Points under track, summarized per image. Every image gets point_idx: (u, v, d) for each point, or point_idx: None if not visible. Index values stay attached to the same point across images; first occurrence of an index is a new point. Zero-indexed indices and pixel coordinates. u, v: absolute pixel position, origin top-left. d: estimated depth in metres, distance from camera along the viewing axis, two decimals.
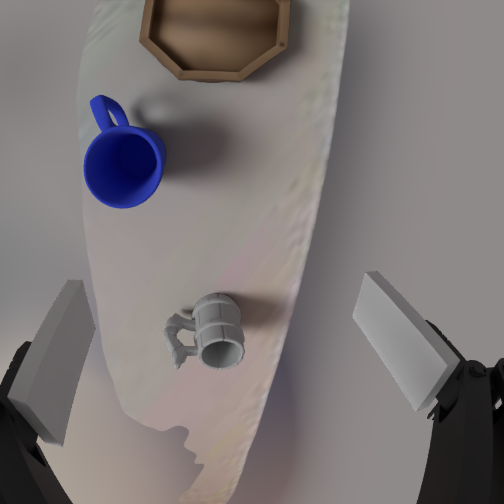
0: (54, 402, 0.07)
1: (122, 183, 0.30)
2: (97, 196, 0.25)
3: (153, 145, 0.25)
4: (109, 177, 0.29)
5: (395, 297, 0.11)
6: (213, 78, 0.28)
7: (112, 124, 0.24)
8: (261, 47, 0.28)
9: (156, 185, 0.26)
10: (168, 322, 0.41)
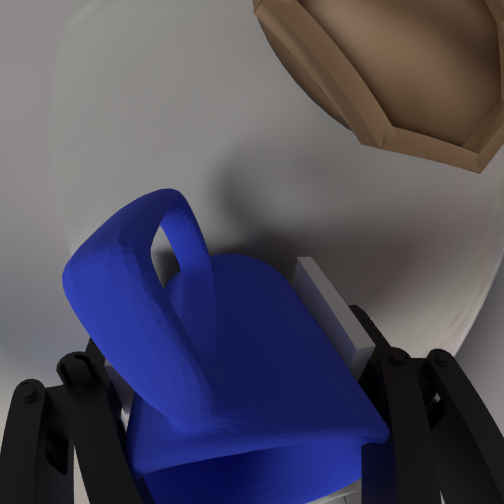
0: None
1: None
2: None
3: None
4: None
5: (320, 280, 0.12)
6: (444, 161, 0.11)
7: (222, 394, 0.05)
8: (488, 98, 0.11)
9: (345, 486, 0.08)
10: None
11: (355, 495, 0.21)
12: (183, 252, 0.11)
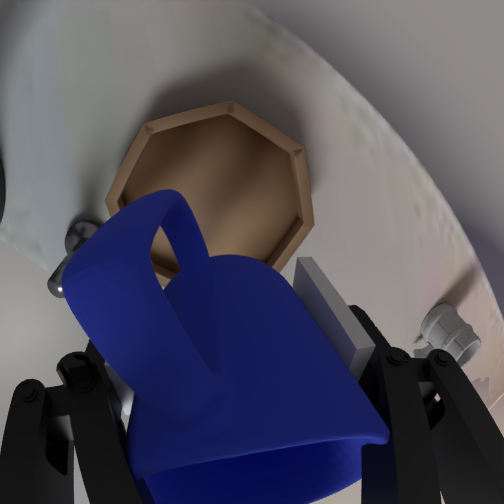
0: None
1: None
2: None
3: None
4: None
5: (320, 280, 0.12)
6: (293, 251, 0.27)
7: (222, 397, 0.05)
8: (281, 171, 0.25)
9: (345, 487, 0.08)
10: None
11: (462, 334, 0.34)
12: (183, 253, 0.11)
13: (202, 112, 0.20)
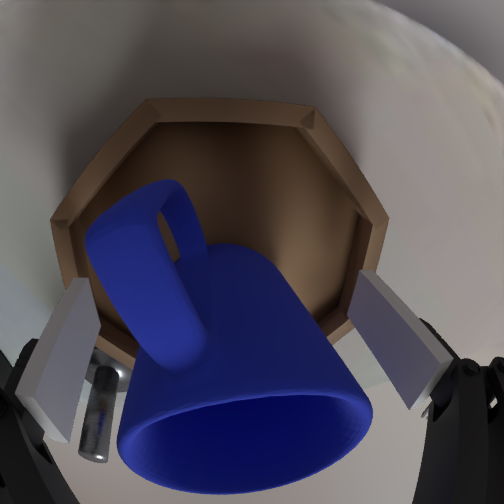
0: (61, 398, 0.07)
1: None
2: (172, 487, 0.08)
3: (362, 413, 0.07)
4: None
5: (389, 295, 0.11)
6: (374, 269, 0.16)
7: (212, 349, 0.06)
8: (300, 162, 0.14)
9: None
10: None
11: None
12: (182, 239, 0.12)
13: (112, 149, 0.10)
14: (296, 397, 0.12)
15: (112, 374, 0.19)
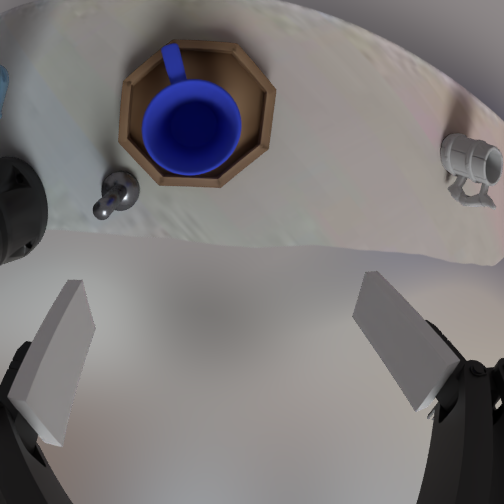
0: (54, 402, 0.07)
1: (176, 150, 0.27)
2: (154, 156, 0.22)
3: (233, 108, 0.21)
4: (163, 140, 0.25)
5: (395, 297, 0.11)
6: (271, 115, 0.30)
7: (185, 77, 0.20)
8: (233, 67, 0.28)
9: (230, 153, 0.23)
10: (455, 197, 0.39)
11: (476, 148, 0.31)
12: None
13: (157, 55, 0.25)
14: (219, 143, 0.26)
15: (123, 187, 0.32)
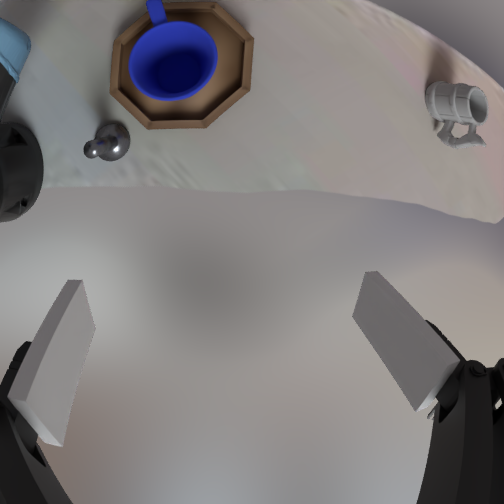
0: (54, 402, 0.07)
1: (161, 90, 0.26)
2: (139, 86, 0.21)
3: (210, 41, 0.21)
4: (149, 80, 0.25)
5: (395, 297, 0.11)
6: (251, 60, 0.29)
7: (167, 22, 0.20)
8: (213, 23, 0.27)
9: (208, 78, 0.22)
10: (445, 141, 0.37)
11: (459, 89, 0.30)
12: None
13: (144, 17, 0.24)
14: (200, 78, 0.25)
15: (114, 137, 0.32)
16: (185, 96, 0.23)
